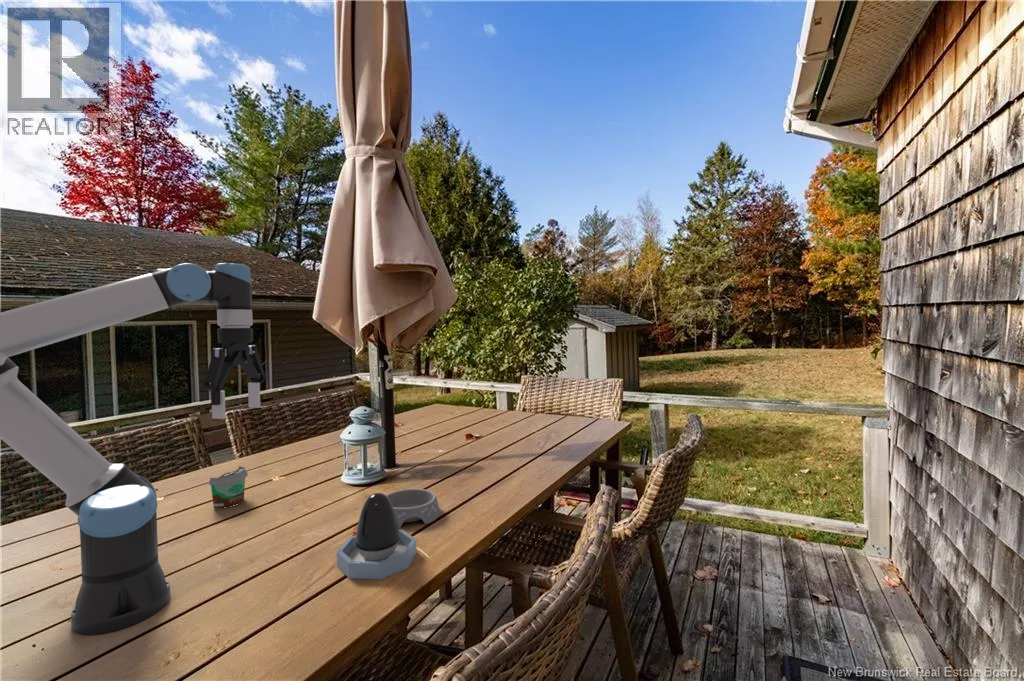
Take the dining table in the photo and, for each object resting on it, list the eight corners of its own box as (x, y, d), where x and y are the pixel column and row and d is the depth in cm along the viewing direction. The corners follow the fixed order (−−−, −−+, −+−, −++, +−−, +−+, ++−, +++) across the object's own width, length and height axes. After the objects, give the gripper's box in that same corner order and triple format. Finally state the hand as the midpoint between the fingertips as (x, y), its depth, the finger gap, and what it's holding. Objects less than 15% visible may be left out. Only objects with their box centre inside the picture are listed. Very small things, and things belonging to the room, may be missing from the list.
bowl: (402, 580, 103) (401, 564, 103) (327, 577, 104) (327, 562, 104) (421, 543, 120) (421, 529, 120) (357, 541, 121) (356, 528, 121)
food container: (227, 512, 140) (226, 479, 139) (209, 510, 141) (208, 478, 141) (257, 497, 152) (256, 466, 152) (241, 495, 153) (240, 465, 153)
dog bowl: (375, 508, 143) (374, 491, 143) (434, 500, 149) (434, 484, 149) (379, 532, 127) (378, 513, 127) (445, 522, 133) (445, 503, 133)
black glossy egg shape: (354, 569, 106) (353, 504, 105) (357, 548, 116) (356, 488, 115) (400, 563, 109) (399, 499, 108) (399, 543, 119) (398, 484, 118)
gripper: (251, 326, 127) (253, 403, 128) (181, 328, 103) (185, 423, 104) (278, 326, 127) (280, 403, 128) (214, 328, 102) (217, 424, 103)
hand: (237, 412), depth 116 cm, fingers open, 13 cm apart
